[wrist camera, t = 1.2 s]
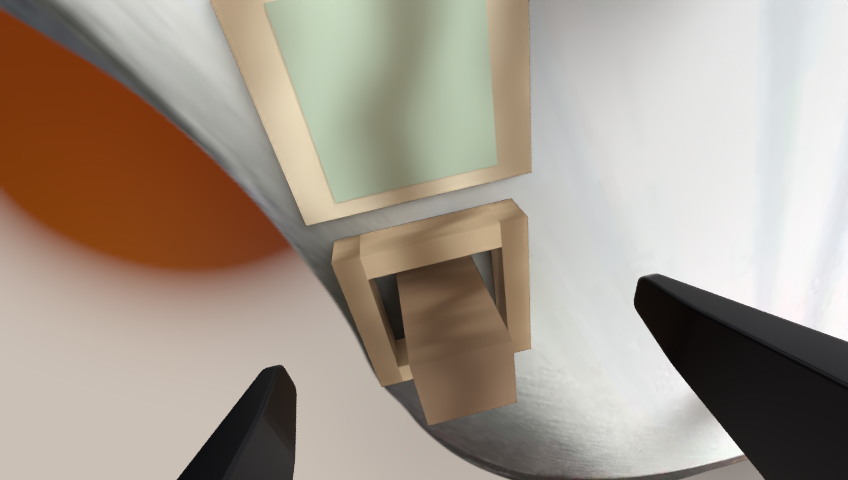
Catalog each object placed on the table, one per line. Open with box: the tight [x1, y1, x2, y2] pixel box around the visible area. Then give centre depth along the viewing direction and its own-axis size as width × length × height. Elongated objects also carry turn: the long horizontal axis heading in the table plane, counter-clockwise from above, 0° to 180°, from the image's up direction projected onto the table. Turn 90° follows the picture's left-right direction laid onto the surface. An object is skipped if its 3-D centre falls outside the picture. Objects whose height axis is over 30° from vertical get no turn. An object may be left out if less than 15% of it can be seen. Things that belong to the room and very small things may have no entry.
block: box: [396, 255, 517, 426], centre depth 21 cm, size 5×5×8 cm
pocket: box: [331, 199, 531, 387], centre depth 23 cm, size 11×11×2 cm
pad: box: [210, 0, 531, 226], centre depth 17 cm, size 13×11×1 cm
